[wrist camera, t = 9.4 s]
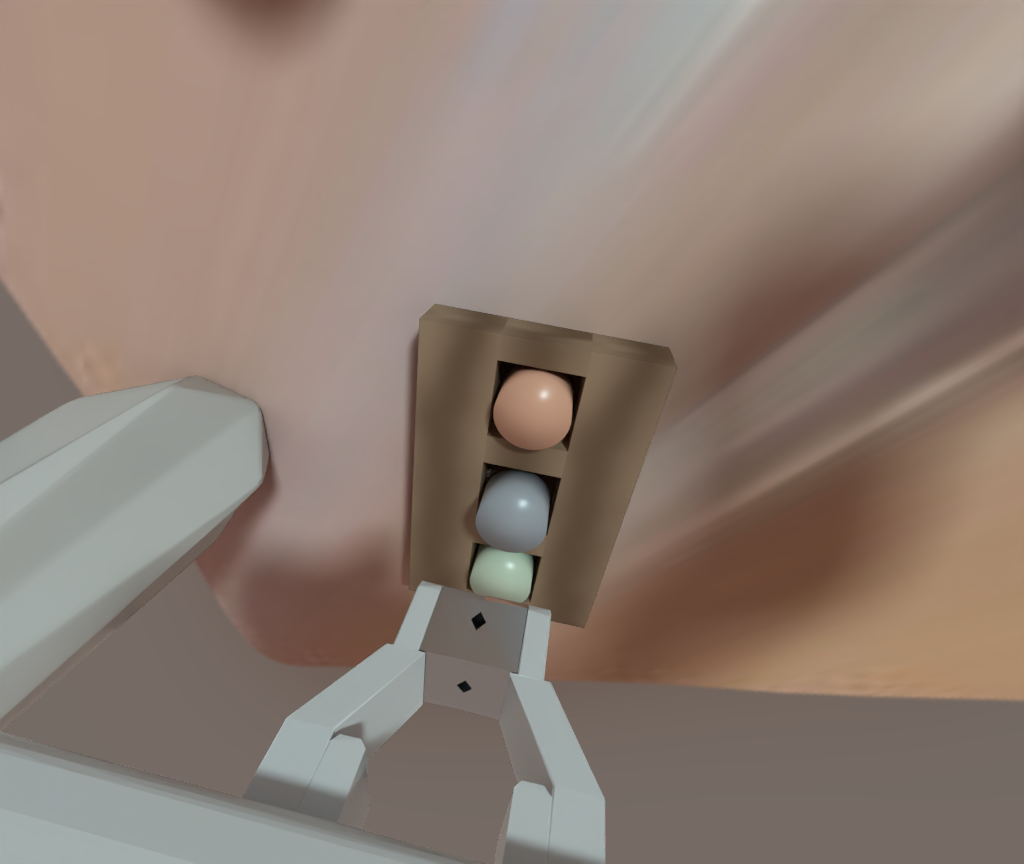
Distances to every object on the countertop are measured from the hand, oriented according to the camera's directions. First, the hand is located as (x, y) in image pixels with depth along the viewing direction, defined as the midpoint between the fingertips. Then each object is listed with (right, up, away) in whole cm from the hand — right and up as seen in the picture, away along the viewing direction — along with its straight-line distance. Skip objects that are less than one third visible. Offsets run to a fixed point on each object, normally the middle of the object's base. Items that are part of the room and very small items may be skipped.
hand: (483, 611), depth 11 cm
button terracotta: (+2, +6, +18) cm, 19 cm away
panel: (+1, +1, +23) cm, 23 cm away
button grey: (+1, 0, +21) cm, 21 cm away
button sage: (0, -5, +25) cm, 26 cm away
